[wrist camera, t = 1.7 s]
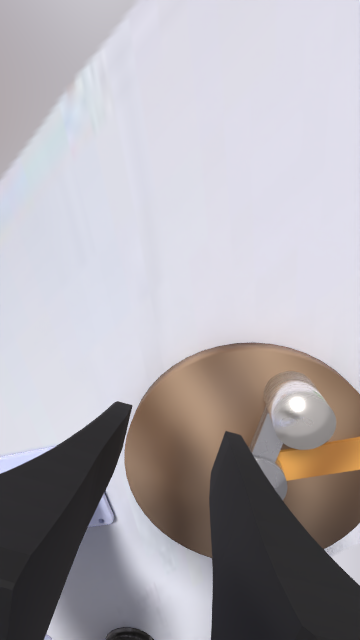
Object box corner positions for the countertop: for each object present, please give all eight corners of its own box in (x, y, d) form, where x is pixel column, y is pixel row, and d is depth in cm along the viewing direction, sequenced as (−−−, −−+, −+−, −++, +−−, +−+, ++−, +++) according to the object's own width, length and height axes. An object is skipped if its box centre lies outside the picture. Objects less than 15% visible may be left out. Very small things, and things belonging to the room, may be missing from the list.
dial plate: (166, 556, 26) (164, 578, 24) (97, 374, 22) (88, 385, 20) (386, 530, 23) (399, 552, 22) (357, 314, 19) (371, 321, 17)
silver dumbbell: (270, 505, 21) (284, 563, 17) (211, 489, 21) (212, 543, 18) (328, 375, 18) (360, 411, 14) (258, 356, 18) (272, 387, 14)
